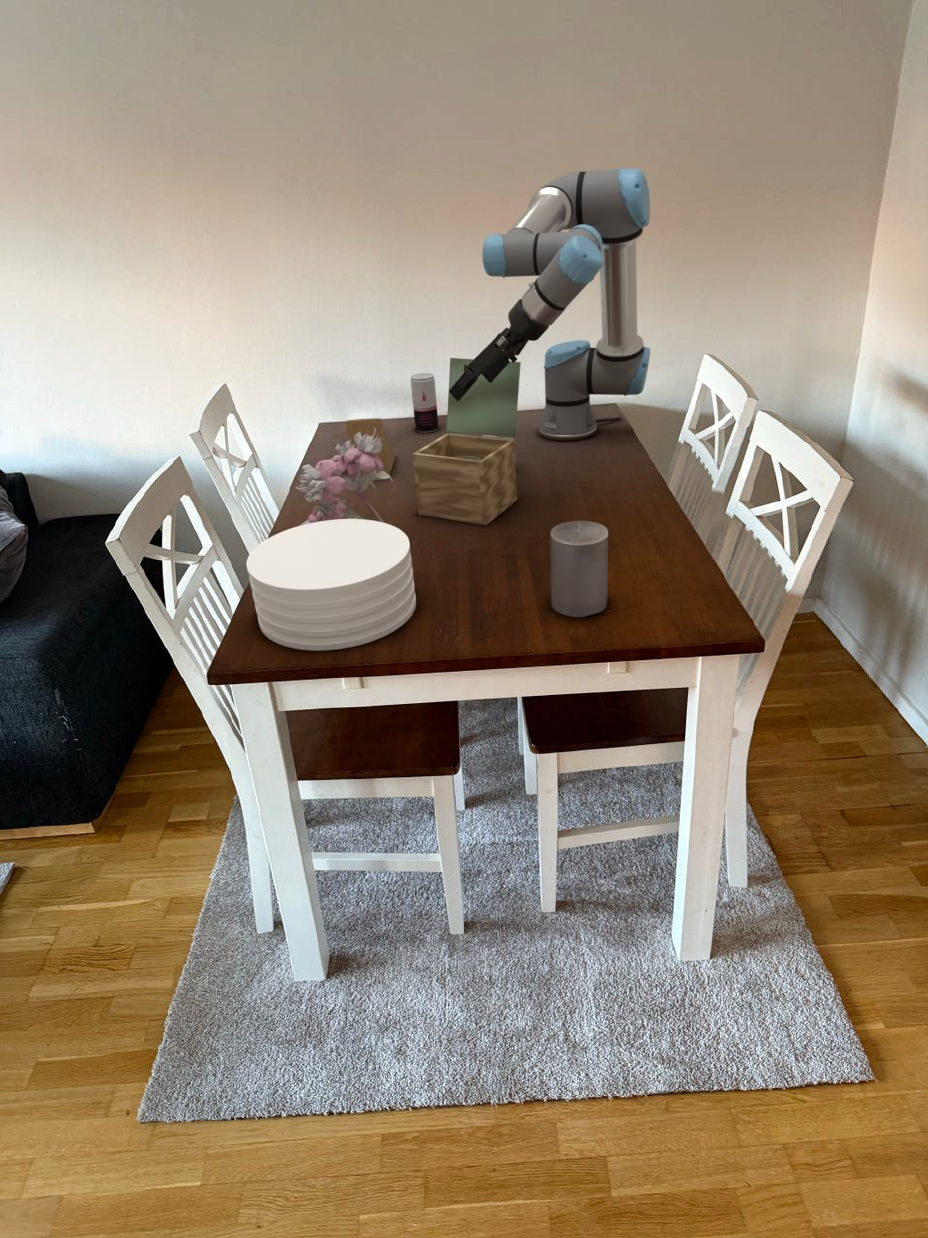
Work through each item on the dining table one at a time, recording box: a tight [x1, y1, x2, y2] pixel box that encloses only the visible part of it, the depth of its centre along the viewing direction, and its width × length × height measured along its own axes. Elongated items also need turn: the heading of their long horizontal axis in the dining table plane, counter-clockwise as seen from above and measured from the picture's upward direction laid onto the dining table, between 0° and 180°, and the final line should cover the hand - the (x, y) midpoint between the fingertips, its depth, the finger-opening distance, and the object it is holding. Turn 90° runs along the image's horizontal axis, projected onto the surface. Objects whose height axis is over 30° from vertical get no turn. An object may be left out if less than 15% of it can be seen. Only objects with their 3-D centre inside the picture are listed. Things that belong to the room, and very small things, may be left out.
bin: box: [412, 432, 518, 526], centre depth 189 cm, size 15×17×14 cm
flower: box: [295, 428, 394, 526], centre depth 176 cm, size 20×22×25 cm
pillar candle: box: [549, 520, 609, 618], centre depth 147 cm, size 10×10×15 cm
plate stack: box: [246, 518, 417, 652], centre depth 152 cm, size 28×28×12 cm
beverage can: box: [410, 372, 439, 434], centre depth 240 cm, size 7×7×15 cm
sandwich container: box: [345, 417, 396, 476], centre depth 215 cm, size 9×15×15 cm, turn 177°
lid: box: [446, 357, 522, 439], centre depth 188 cm, size 16×17×1 cm
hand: (470, 386), depth 176 cm, fingers open, 13 cm apart
